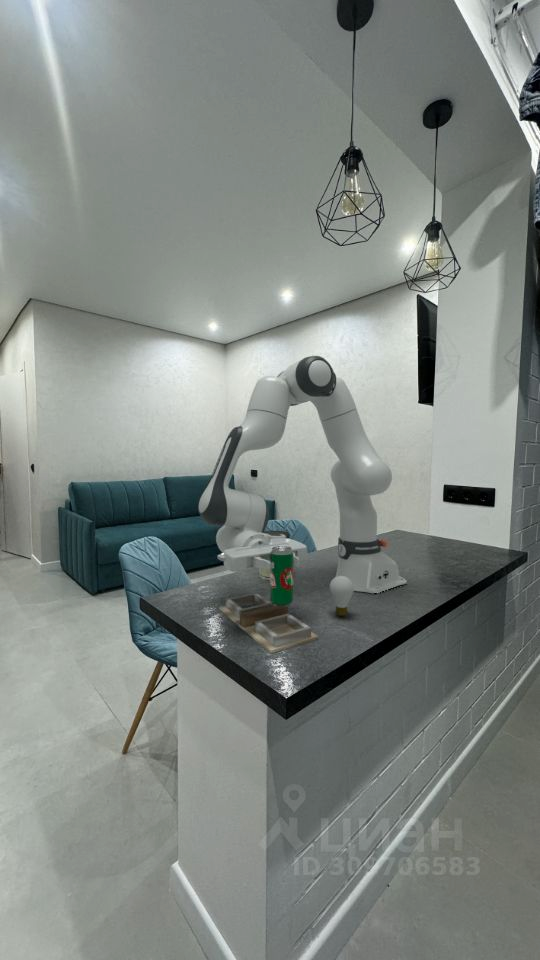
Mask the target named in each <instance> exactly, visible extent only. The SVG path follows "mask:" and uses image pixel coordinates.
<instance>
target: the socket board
mask: <svg viewBox="0 0 540 960" xmlns="http://www.w3.org/2000/svg"><path fill="white" fill-rule="evenodd" d="M252 605H254V606H252ZM248 606H249V607H248ZM218 608H219V609H218V610H219V611H220V612H222V613H223V614H224V615H225V616H226V617H227V618H229V619H230V620H231V621H232V622H233V623H234V624H235V625H236V626H238V627H239V628H240V629H241V630H243V631H244V633H246V634H247V635H249V636H250V637H251V638H252V639H253V640H254V641H255V642H257V643H258V644H259V645H260V646H261V647H263V648H264V650H266V651H267V652H268V653H270V654H273V653H277V652H279V651H284V650H287V649H290V648H293V647H296V646H300V645H303V644H306V643H309V642H312V641H316V640H319V636H318V635H317V634H315V633H314V632H312V627H310V626H309V625H308V624H306V623H304V622H303V621H301V620H299V619H298V618H297V617H295V616H293V615H291V614H290V613H289V605H286V606H279V605H274V604H273V603H272V602H271V600H268V599H266V598H265V597H263V596H262V595H260V594H258V593H257V592H254V593H249V594H244V595H243V594H242V595H238V596H234V597H229V598H225V600H224V605H222V606H219V607H218Z"/></svg>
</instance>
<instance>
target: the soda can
mask: <svg viewBox="0 0 540 960" xmlns="http://www.w3.org/2000/svg"><path fill="white" fill-rule="evenodd" d="M291 549H292V548H291V547H288V546H276V547H272V551H271V552H270V560H272V561H274V569H272V570H270V580H269V581H270V582H269V584H270V587H269V589H270V591H269V592H270V594H269V595H270V600H269V601H270V602H271V603H273V605H274V606H277V605H279V606H289V605H291V604H293V602H294V600H295V599H294V598H295V597H294V595H295V594H294V593H295V592H294V586H295V585H294V578H295V577H294V574H295V573H294V566H293V551H292V550H291Z"/></svg>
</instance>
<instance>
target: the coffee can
mask: <svg viewBox="0 0 540 960" xmlns="http://www.w3.org/2000/svg"><path fill="white" fill-rule="evenodd" d="M263 533H265V534H283V535H285V536H286V538H288V539H290V537H291V534H290V532H288V531H284V530H265V531H264V532H263ZM258 572H259V573H258V577H259V578H261V579H262V580H265V581H270V570H266V569H261V568H260V569H258Z"/></svg>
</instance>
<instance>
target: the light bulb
mask: <svg viewBox="0 0 540 960" xmlns="http://www.w3.org/2000/svg"><path fill="white" fill-rule="evenodd" d="M329 591H330V592H329V593H330V594H331V596H332V599H333V601H334V604H335V613H336V614H337V615H338V616H339V617H345V616H346V615H347V611H348V605H349V601H350V600H351V598H352V597H353V595H354V592H355V591H354V586H353V583H352V582H351V580H350V579H349V578H347V577H345V576H338V577H334V578H333V579H331V581H330V583H329Z"/></svg>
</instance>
